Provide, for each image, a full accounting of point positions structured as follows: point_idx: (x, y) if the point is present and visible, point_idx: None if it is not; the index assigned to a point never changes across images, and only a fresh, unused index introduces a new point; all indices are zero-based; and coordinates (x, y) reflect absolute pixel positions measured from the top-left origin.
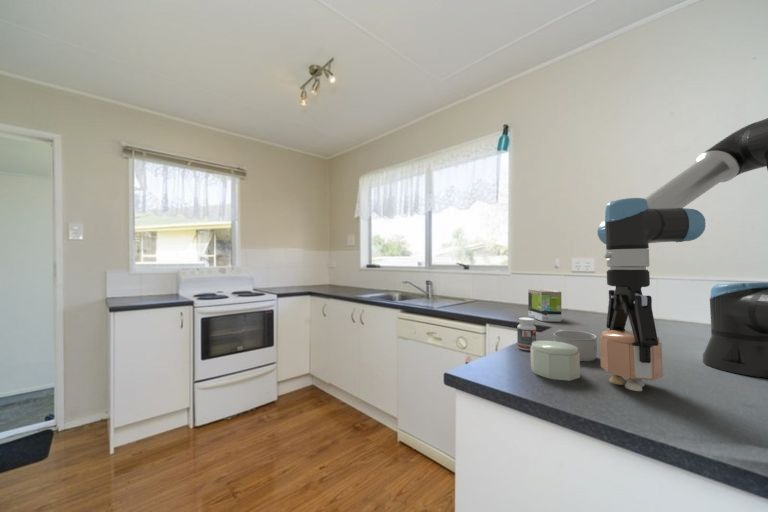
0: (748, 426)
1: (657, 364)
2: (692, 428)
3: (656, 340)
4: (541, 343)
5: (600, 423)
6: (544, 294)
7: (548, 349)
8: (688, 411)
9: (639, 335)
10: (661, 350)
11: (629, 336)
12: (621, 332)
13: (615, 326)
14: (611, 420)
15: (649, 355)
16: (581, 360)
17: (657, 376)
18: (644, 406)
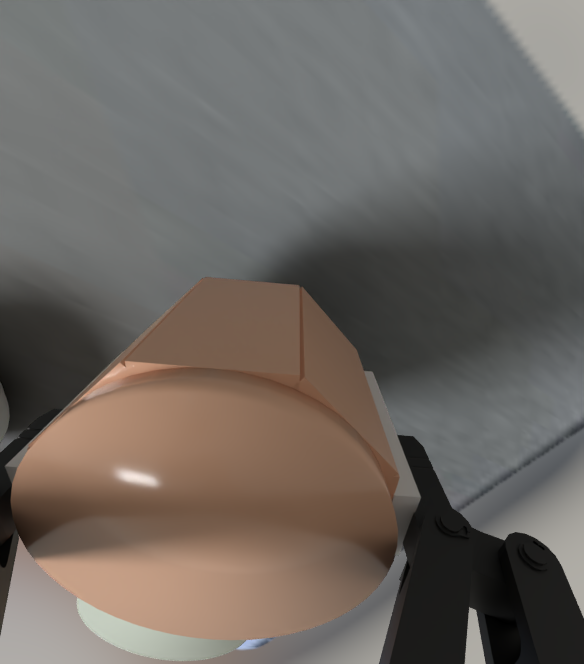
0: (523, 117)
1: (344, 357)
2: (518, 320)
3: (564, 588)
4: (145, 639)
5: (479, 495)
6: None
7: (235, 642)
8: (408, 250)
9: (487, 660)
10: (310, 353)
11: (266, 565)
12: (121, 553)
13: (3, 587)
14: (466, 472)
15: (434, 475)
16: (4, 400)
17: (338, 332)
18: (380, 362)
